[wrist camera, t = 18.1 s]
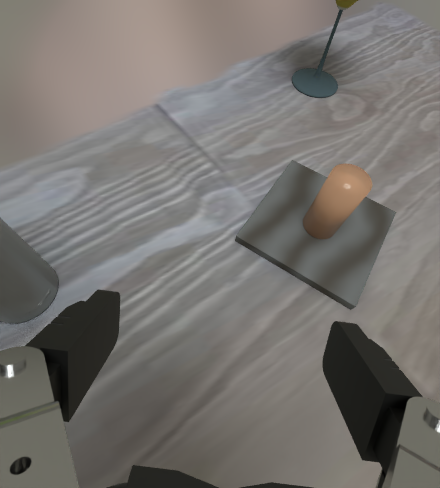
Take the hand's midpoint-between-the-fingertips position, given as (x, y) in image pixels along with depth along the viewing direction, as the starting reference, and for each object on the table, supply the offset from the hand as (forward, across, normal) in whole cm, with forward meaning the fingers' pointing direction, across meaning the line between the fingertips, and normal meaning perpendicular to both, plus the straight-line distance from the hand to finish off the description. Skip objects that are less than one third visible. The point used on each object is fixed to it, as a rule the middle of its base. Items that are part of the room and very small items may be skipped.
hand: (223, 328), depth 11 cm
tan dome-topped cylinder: (+38, -16, +2) cm, 41 cm away
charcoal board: (+39, -16, +3) cm, 42 cm away
